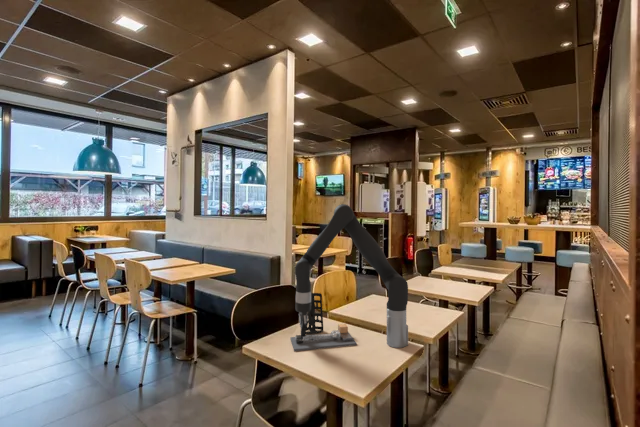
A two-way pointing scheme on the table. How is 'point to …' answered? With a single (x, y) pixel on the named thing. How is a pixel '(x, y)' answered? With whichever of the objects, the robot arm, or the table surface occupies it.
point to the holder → (312, 318)
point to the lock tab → (342, 328)
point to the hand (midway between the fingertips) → (303, 336)
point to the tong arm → (313, 336)
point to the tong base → (335, 336)
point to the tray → (320, 344)
